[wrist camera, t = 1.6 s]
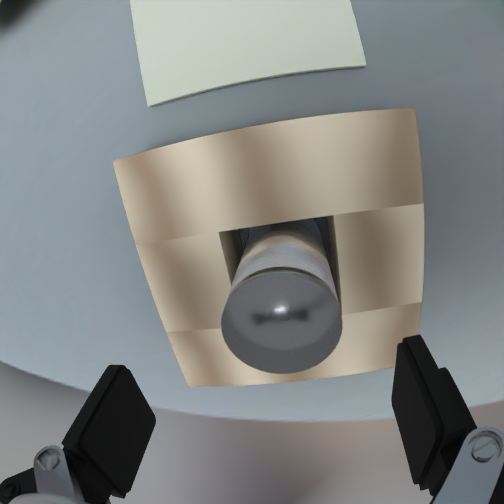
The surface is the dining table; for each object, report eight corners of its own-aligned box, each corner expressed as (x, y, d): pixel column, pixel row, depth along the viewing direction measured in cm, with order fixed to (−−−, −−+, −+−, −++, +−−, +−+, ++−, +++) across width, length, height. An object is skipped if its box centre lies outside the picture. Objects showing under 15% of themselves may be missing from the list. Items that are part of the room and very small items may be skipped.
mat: (327, -55, 13) (328, -60, 13) (363, 67, 17) (366, 65, 16) (132, -12, 16) (127, -16, 15) (152, 106, 19) (147, 106, 19)
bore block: (386, 110, 18) (414, 107, 13) (397, 322, 24) (414, 362, 19) (148, 151, 21) (112, 161, 16) (203, 345, 26) (188, 386, 22)
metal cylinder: (316, 202, 21) (338, 267, 12) (325, 270, 23) (344, 367, 13) (242, 213, 22) (207, 284, 12) (256, 280, 23) (235, 377, 14)
